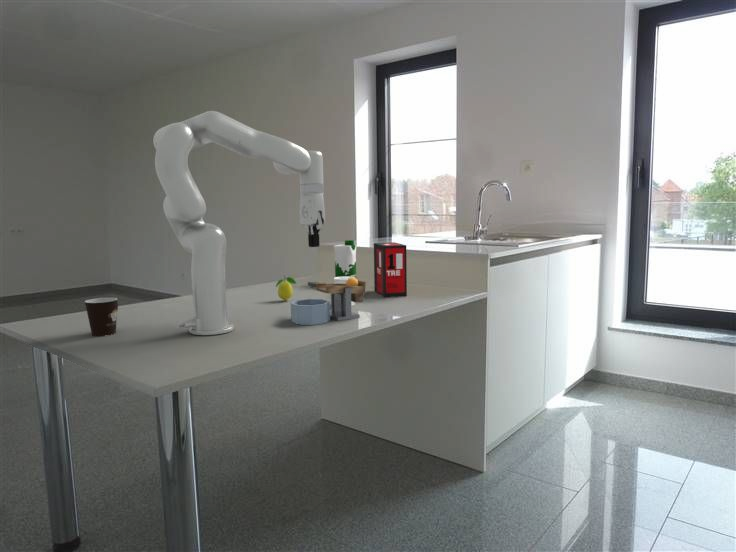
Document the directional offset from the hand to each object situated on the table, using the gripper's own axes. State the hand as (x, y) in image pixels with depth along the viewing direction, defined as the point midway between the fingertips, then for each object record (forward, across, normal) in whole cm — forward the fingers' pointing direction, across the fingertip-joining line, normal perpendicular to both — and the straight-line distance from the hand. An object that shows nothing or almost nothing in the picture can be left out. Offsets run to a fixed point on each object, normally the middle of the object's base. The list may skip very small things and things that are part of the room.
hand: (314, 246), depth 183 cm
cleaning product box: (+23, -20, +43) cm, 53 cm away
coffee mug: (+23, -14, -62) cm, 67 cm away
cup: (+23, +8, -6) cm, 25 cm away
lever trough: (+18, +5, +5) cm, 19 cm away
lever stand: (+23, +8, +5) cm, 25 cm away
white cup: (+23, -9, +16) cm, 30 cm away
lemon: (+23, -30, +2) cm, 38 cm away
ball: (+12, +8, +10) cm, 17 cm away
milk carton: (+23, -51, +40) cm, 69 cm away
